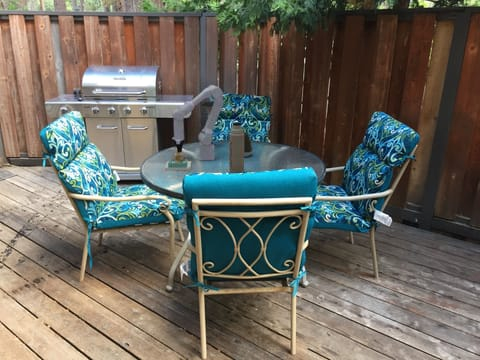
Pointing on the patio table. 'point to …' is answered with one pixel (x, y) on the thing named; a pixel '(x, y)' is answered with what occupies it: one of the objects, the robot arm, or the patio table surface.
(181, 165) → the dock
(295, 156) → the patio table surface
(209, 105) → the solar garden light
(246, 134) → the pump dispenser
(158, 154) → the patio table surface
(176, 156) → the cardboard box
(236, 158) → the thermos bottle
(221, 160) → the patio table surface
